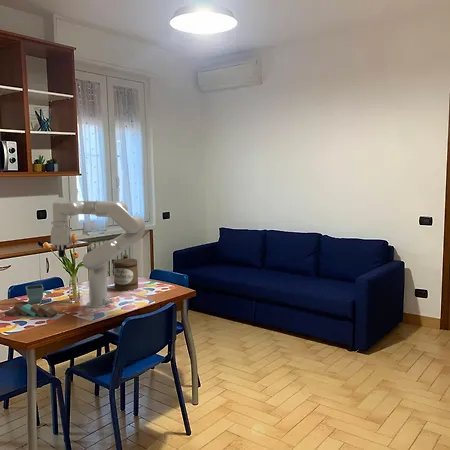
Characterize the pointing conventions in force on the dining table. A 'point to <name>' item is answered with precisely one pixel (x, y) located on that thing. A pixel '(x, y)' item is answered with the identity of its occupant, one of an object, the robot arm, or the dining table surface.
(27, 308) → the teal domino
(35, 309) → the domino
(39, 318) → the felt runner
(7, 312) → the domino
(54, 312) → the domino
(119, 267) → the wooden container
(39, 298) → the flower pot
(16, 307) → the domino
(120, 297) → the dining table surface
